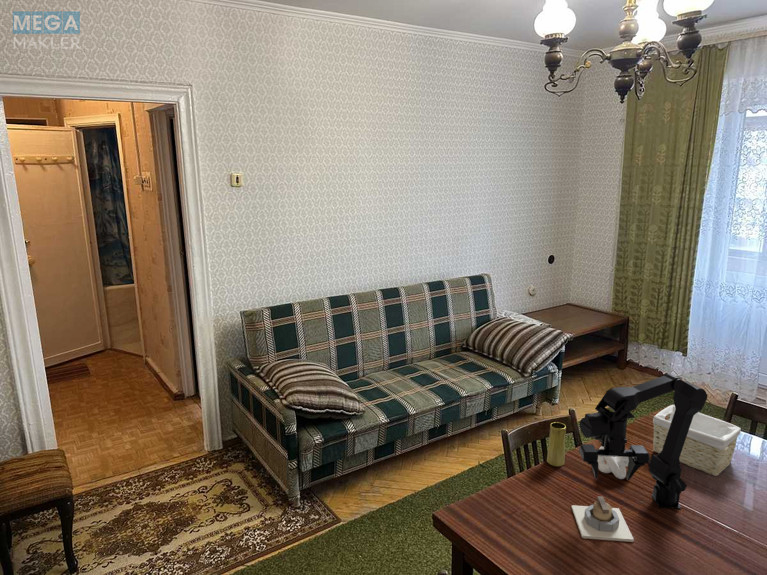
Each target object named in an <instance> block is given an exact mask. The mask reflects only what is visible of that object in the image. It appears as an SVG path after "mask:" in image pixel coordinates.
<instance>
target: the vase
mask: <svg viewBox="0 0 767 575" xmlns="http://www.w3.org/2000/svg"><path fill="white" fill-rule="evenodd" d="M566 433H567V426H566V424H565V423H562V422H559V421H554V422H551V423H550V425H549V436H548V438H549V439H548V449H547V456H546V457H547V458H546V462H547V463H548V464H549V465H551V466H553V467H562V466H564V465H565V464H566V463H565V457H566V456H565V455H566V435H567V434H566Z"/></svg>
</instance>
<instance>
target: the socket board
mask: <svg viewBox="0 0 767 575" xmlns="http://www.w3.org/2000/svg"><path fill="white" fill-rule="evenodd" d="M593 506H594V504H590V505H589V506H588V505H576V504H575V505H574V504H573V505H571V511H572V513H573V516H574V520H575V522H576V526H577V527H578V530H579V533H580V536H581V538H582V539H591V540H603V541H615V542H618V541H619V542H631V543H633V542H635V539H634V536H633V534H632V532H631V531H630V529H629V526H628V525H627V524H628V523H627V522H626V519H625V518H624V516H623V513H622V512H621V509H620V508H619V507H618V508H617V507H612V513H611V521H610V522H604V521H599V520H597V519H595V518H593Z"/></svg>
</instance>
